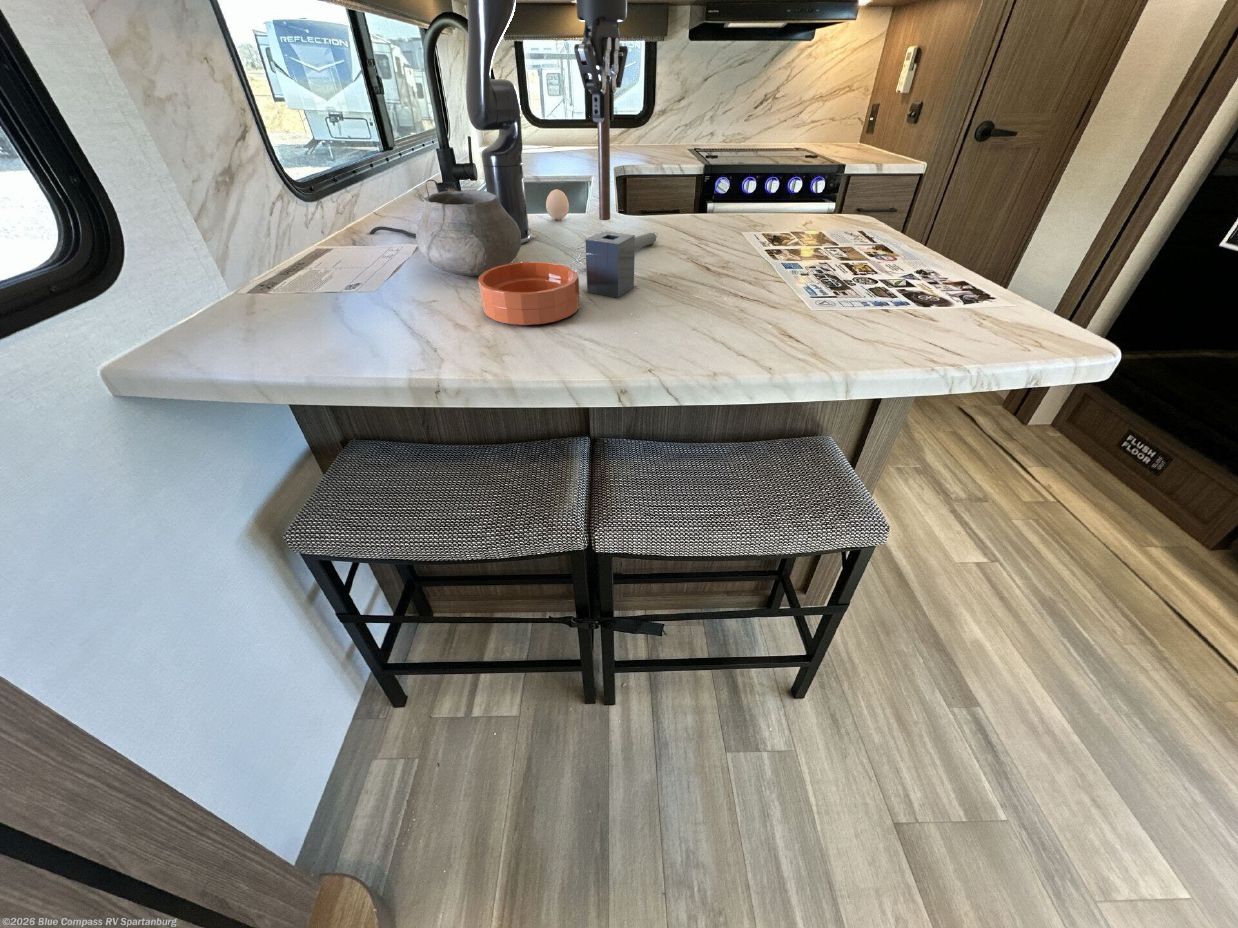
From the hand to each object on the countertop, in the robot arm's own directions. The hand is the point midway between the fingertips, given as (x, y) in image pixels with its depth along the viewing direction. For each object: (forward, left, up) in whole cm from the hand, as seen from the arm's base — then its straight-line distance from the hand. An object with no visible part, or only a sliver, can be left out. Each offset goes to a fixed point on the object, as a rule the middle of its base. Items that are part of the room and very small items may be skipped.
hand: (603, 121), depth 84 cm
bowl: (-7, -15, -28) cm, 33 cm away
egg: (-41, +46, -29) cm, 68 cm away
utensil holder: (+1, +1, -28) cm, 28 cm away
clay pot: (-31, -3, -29) cm, 43 cm away
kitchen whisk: (-8, +21, -29) cm, 37 cm away
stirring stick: (0, 0, -15) cm, 15 cm away
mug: (-62, +23, -29) cm, 72 cm away
